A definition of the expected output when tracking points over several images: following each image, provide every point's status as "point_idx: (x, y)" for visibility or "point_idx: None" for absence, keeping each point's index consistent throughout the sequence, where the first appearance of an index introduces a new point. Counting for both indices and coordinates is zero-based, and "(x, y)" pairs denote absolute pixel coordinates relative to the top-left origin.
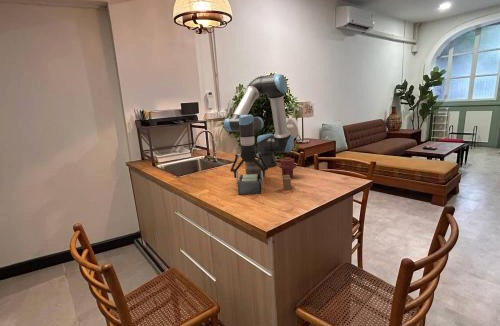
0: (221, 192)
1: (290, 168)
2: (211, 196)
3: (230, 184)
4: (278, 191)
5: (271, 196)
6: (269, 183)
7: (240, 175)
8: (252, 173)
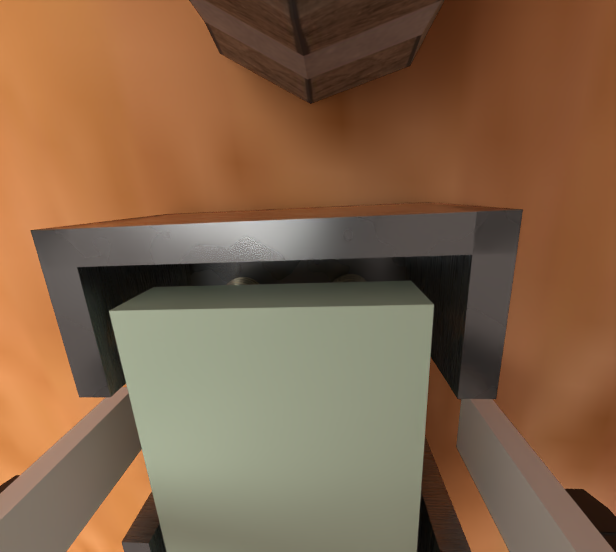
0: (40, 406)
1: None
2: (4, 482)
3: (16, 145)
4: (587, 445)
5: (495, 542)
6: (544, 145)
7: (57, 284)
8: (287, 17)
